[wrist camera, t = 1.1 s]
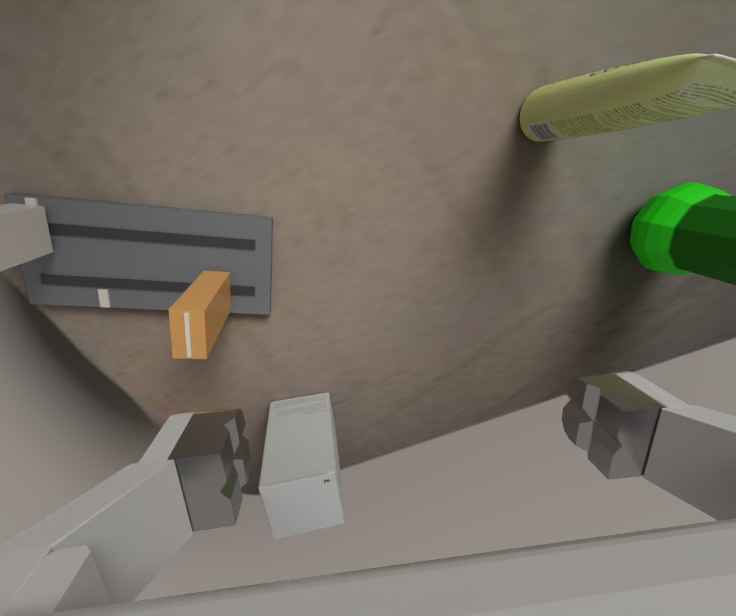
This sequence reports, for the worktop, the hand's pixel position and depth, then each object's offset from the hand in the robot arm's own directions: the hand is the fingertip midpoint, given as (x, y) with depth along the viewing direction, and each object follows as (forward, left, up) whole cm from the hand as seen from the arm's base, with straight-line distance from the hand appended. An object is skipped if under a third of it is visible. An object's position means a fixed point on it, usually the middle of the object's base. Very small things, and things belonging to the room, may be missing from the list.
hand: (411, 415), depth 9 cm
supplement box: (+19, -16, -31) cm, 40 cm away
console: (-6, -16, -31) cm, 35 cm away
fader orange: (-1, -13, -29) cm, 32 cm away
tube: (+3, +24, -31) cm, 39 cm away
